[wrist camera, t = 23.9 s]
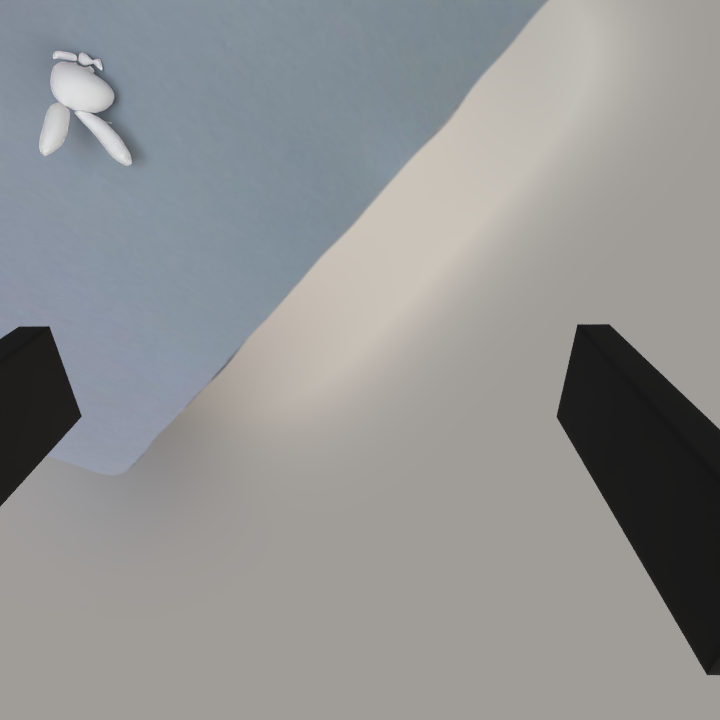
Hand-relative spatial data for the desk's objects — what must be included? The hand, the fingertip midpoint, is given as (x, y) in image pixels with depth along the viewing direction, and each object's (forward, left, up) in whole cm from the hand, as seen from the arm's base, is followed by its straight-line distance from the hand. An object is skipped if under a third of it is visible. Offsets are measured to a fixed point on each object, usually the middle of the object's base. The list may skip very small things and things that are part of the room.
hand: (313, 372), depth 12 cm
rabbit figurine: (+19, -5, -31) cm, 37 cm away
